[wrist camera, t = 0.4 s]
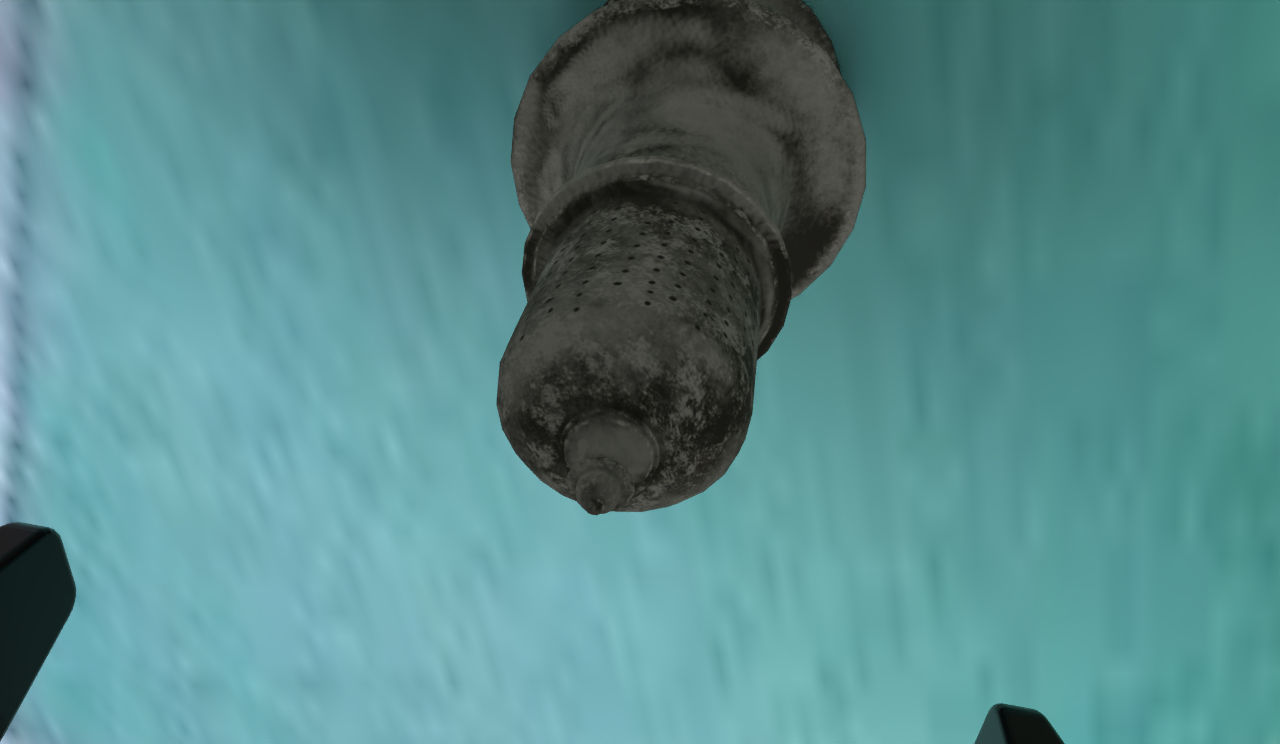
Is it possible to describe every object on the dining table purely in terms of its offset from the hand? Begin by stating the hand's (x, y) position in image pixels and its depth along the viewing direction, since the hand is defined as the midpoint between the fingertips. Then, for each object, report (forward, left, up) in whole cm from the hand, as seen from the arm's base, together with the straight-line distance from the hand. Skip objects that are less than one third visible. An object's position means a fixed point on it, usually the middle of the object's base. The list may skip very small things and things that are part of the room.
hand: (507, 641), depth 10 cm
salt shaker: (0, -1, -13) cm, 13 cm away
